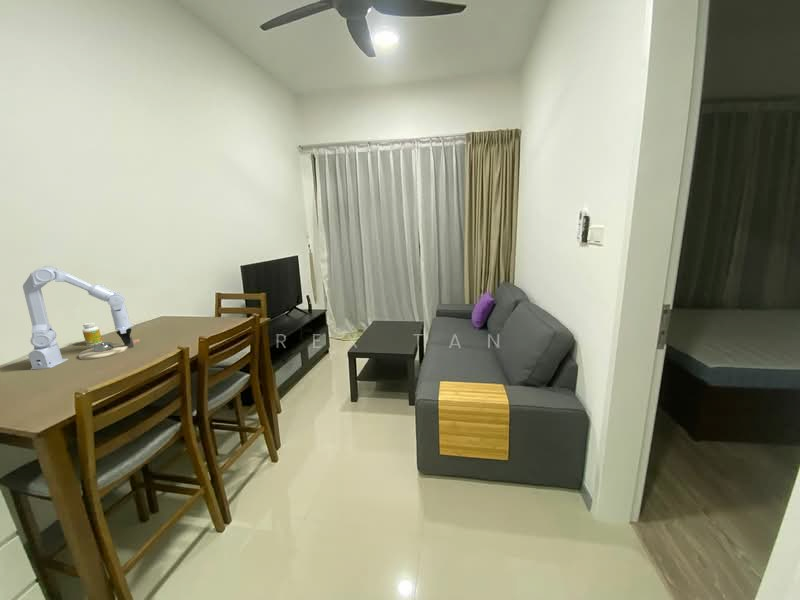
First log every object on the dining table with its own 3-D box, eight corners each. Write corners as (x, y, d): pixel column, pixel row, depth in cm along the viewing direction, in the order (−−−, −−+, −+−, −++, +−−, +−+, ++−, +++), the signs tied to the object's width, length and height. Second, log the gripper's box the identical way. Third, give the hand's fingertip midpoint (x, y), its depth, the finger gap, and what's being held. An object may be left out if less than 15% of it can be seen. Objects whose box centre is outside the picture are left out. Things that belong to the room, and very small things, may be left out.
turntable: (132, 352, 156) (129, 342, 155) (75, 363, 145) (72, 352, 144) (135, 341, 170) (133, 332, 169) (83, 351, 159) (81, 341, 158)
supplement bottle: (94, 345, 167) (89, 325, 164) (82, 346, 167) (77, 325, 164) (105, 341, 173) (100, 321, 170) (94, 341, 173) (89, 321, 170)
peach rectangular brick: (133, 343, 168) (133, 341, 168) (132, 343, 168) (131, 340, 168) (140, 341, 171) (139, 339, 170) (138, 341, 171) (138, 338, 171)
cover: (112, 349, 155) (111, 343, 155) (93, 353, 151) (91, 346, 151) (114, 345, 161) (112, 339, 160) (95, 349, 157) (93, 342, 156)
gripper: (131, 319, 154) (137, 345, 157) (131, 313, 165) (137, 338, 168) (111, 322, 149) (119, 349, 153) (113, 316, 160) (119, 341, 164)
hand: (127, 343), depth 160 cm, fingers closed
